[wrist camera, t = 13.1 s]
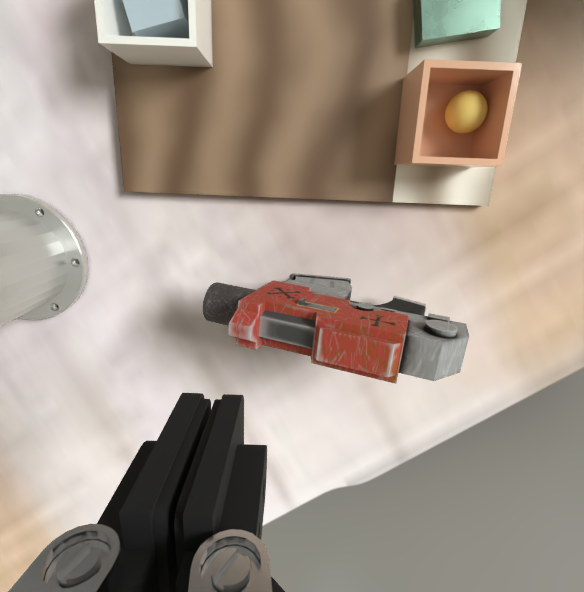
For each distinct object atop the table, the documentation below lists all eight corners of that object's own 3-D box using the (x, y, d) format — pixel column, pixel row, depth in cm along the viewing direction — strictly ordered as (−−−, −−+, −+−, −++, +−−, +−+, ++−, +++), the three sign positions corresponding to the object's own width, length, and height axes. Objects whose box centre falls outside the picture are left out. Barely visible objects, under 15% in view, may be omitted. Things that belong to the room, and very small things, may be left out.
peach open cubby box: (394, 164, 35) (412, 162, 30) (403, 77, 33) (424, 59, 27) (471, 167, 35) (502, 166, 30) (485, 80, 33) (522, 62, 27)
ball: (441, 140, 32) (475, 120, 29) (432, 103, 32) (466, 79, 29) (465, 140, 34) (500, 122, 31) (457, 105, 34) (491, 83, 31)
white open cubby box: (130, 64, 33) (98, 42, 27) (122, -36, 30) (86, -80, 25) (212, 67, 33) (196, 46, 27) (210, -33, 30) (192, -76, 25)
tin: (414, 48, 32) (422, 40, 30) (412, -9, 31) (420, -21, 29) (487, 36, 32) (500, 27, 30) (488, -21, 31) (501, -34, 29)
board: (129, 190, 37) (124, 191, 36) (109, -37, 31) (102, -45, 30) (483, 205, 37) (488, 205, 36) (524, -20, 32) (532, -28, 30)
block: (151, 49, 32) (132, 31, 28) (135, -8, 31) (112, -33, 27) (198, 36, 31) (184, 17, 28) (183, -21, 30) (166, -49, 26)
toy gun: (263, 257, 42) (182, 291, 28) (461, 290, 36) (479, 353, 22) (260, 291, 43) (181, 339, 30) (451, 329, 37) (463, 411, 24)
